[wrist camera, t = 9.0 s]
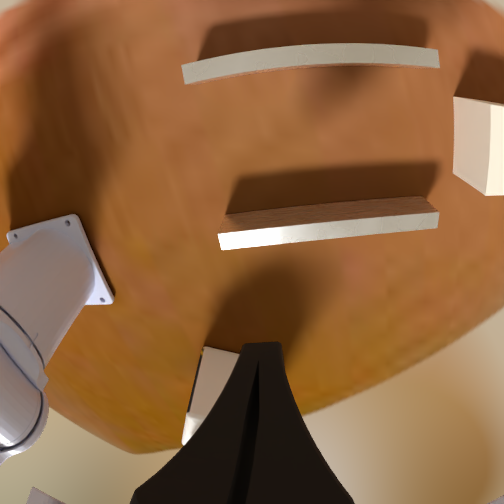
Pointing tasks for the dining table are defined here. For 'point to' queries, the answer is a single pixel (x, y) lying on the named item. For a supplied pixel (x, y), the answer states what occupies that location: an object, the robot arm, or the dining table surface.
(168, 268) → the dining table surface
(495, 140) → the block
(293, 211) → the channel
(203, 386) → the medicine bottle
